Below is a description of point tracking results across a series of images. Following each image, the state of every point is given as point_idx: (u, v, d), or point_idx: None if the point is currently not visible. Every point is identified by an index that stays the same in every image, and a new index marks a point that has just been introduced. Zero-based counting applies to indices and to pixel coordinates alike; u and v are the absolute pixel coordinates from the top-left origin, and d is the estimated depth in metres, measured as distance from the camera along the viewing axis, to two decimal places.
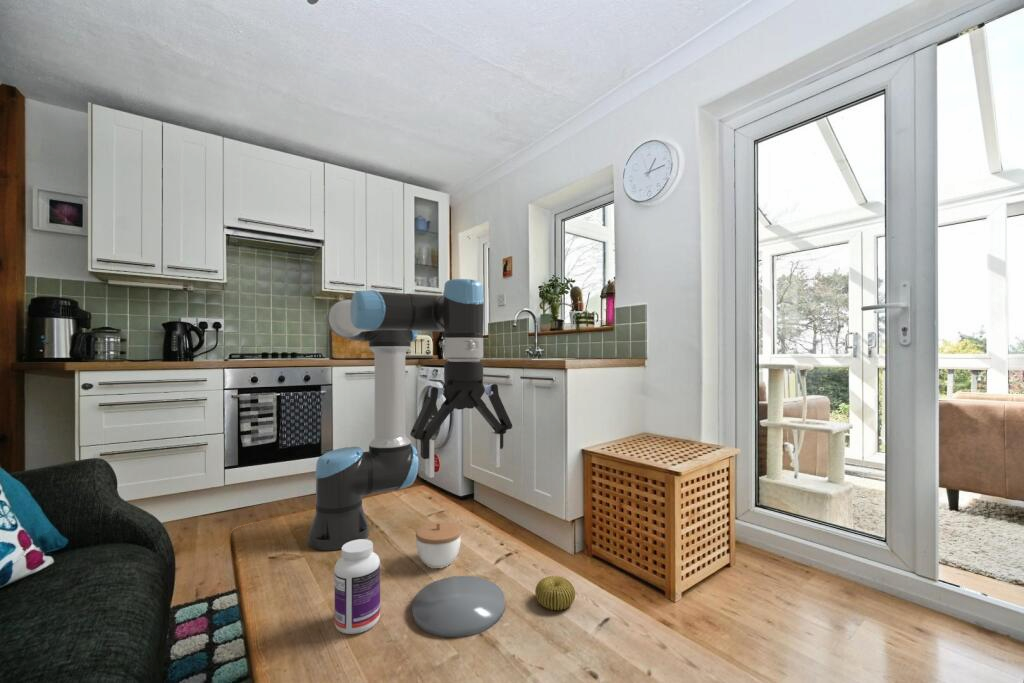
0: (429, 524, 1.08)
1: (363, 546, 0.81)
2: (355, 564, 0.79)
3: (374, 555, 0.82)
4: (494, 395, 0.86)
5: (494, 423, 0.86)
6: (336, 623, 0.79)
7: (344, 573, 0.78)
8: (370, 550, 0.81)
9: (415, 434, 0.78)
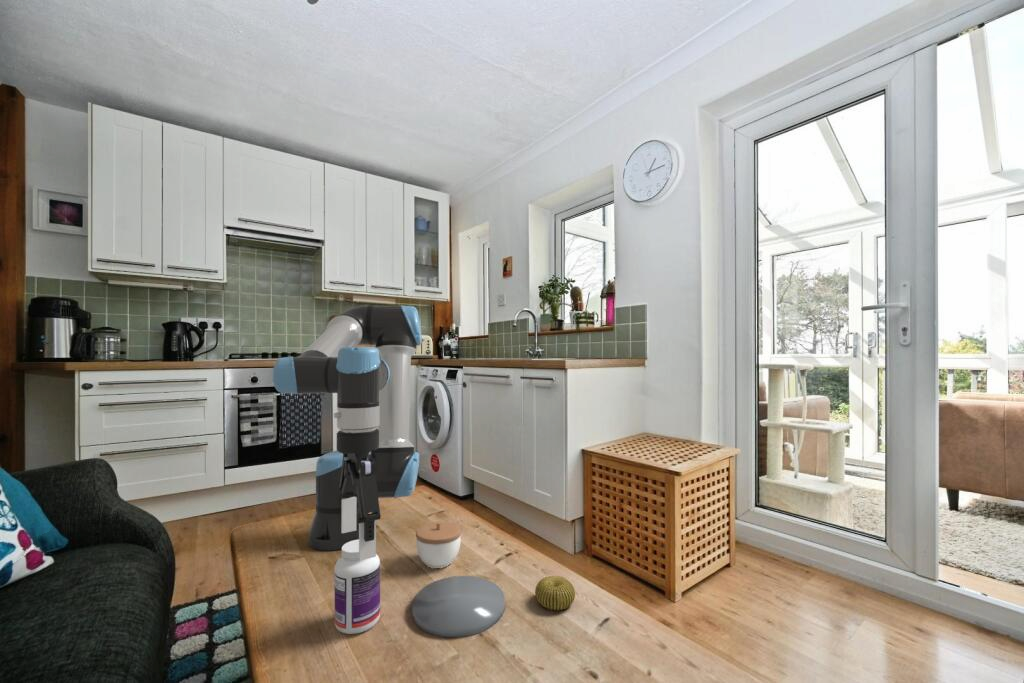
0: (429, 524, 1.08)
1: None
2: (355, 564, 0.79)
3: None
4: (359, 475, 0.76)
5: (359, 507, 0.76)
6: (336, 623, 0.79)
7: (344, 573, 0.78)
8: None
9: (339, 487, 0.89)
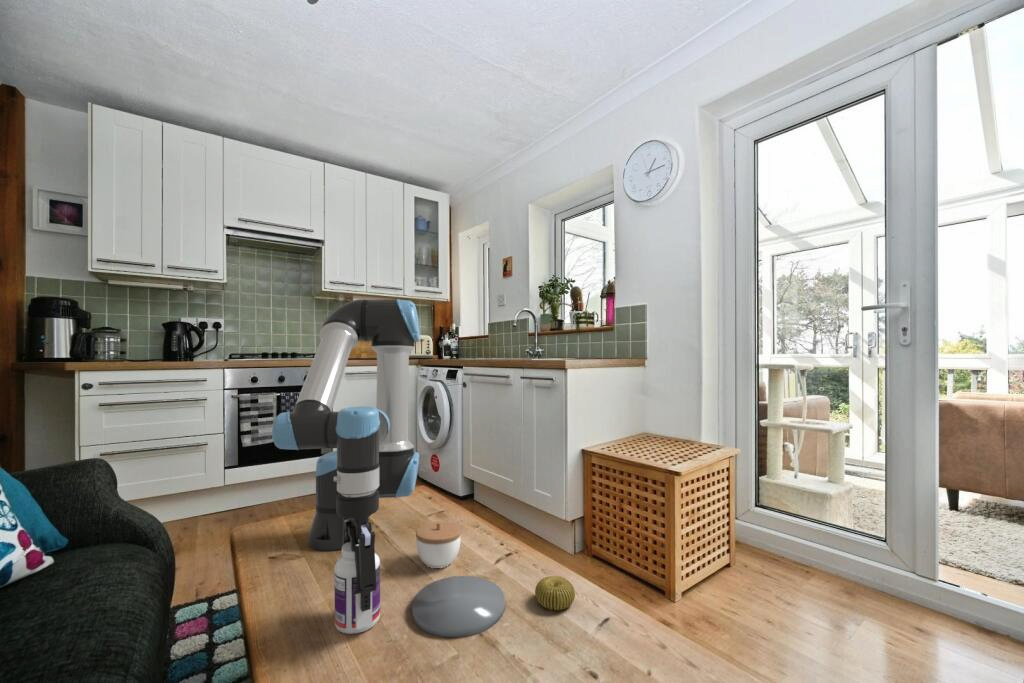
0: (429, 524, 1.08)
1: None
2: None
3: None
4: None
5: (356, 575, 0.77)
6: (336, 623, 0.79)
7: (344, 573, 0.78)
8: None
9: None
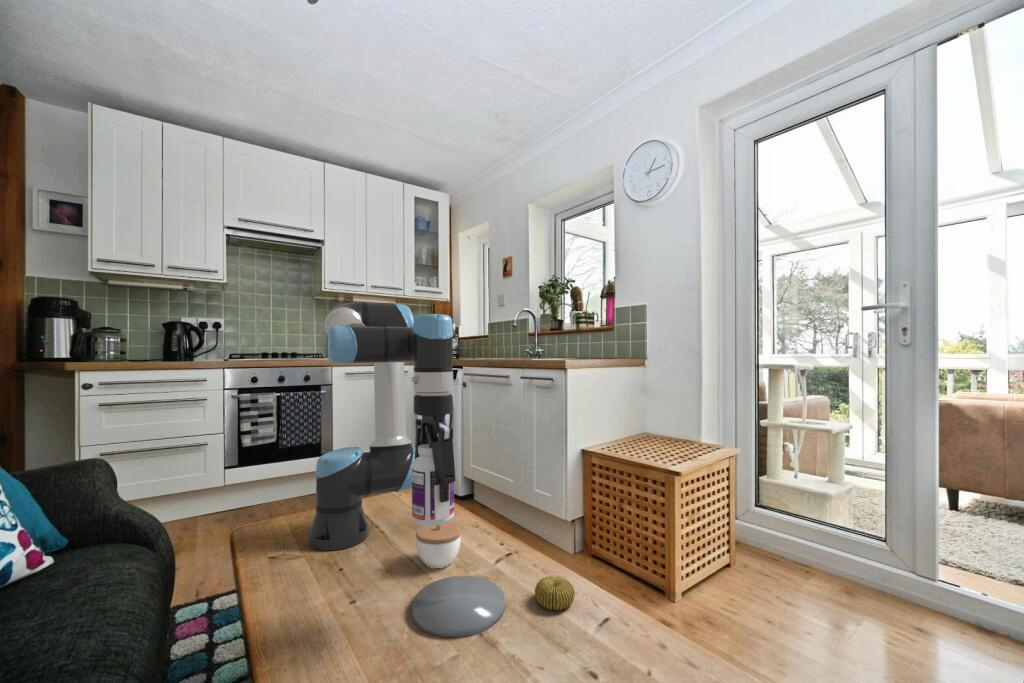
0: None
1: None
2: (433, 460, 0.82)
3: None
4: (438, 439, 0.80)
5: (435, 469, 0.81)
6: (415, 516, 0.82)
7: (422, 467, 0.81)
8: None
9: None
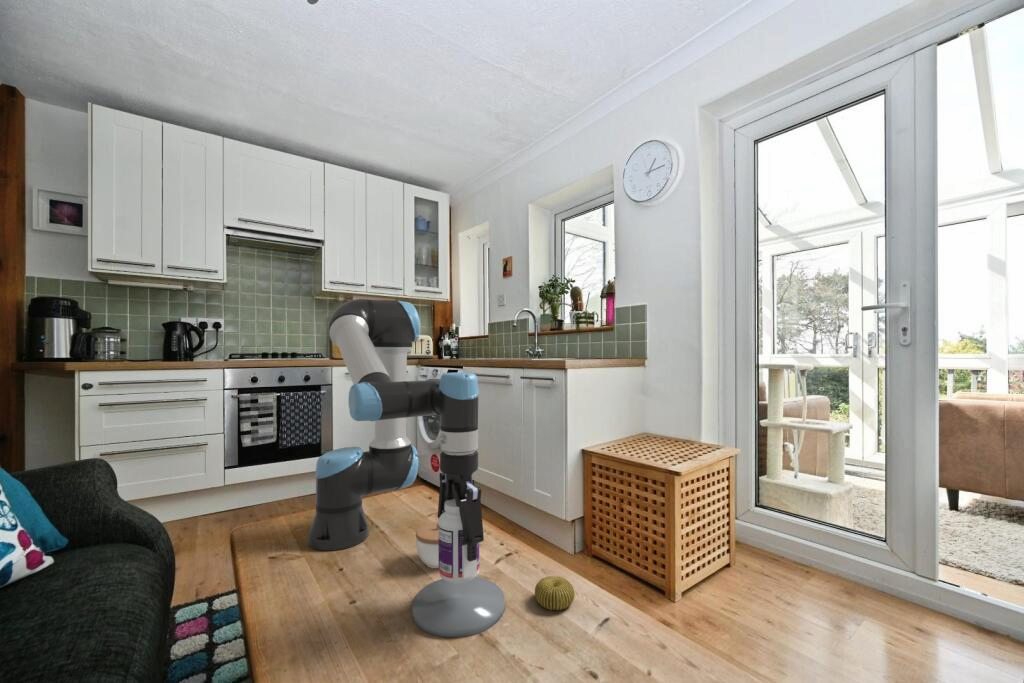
0: (429, 524, 1.08)
1: None
2: (460, 518, 0.84)
3: None
4: (466, 499, 0.81)
5: (463, 528, 0.82)
6: (442, 574, 0.84)
7: (450, 526, 0.83)
8: None
9: (438, 514, 0.92)
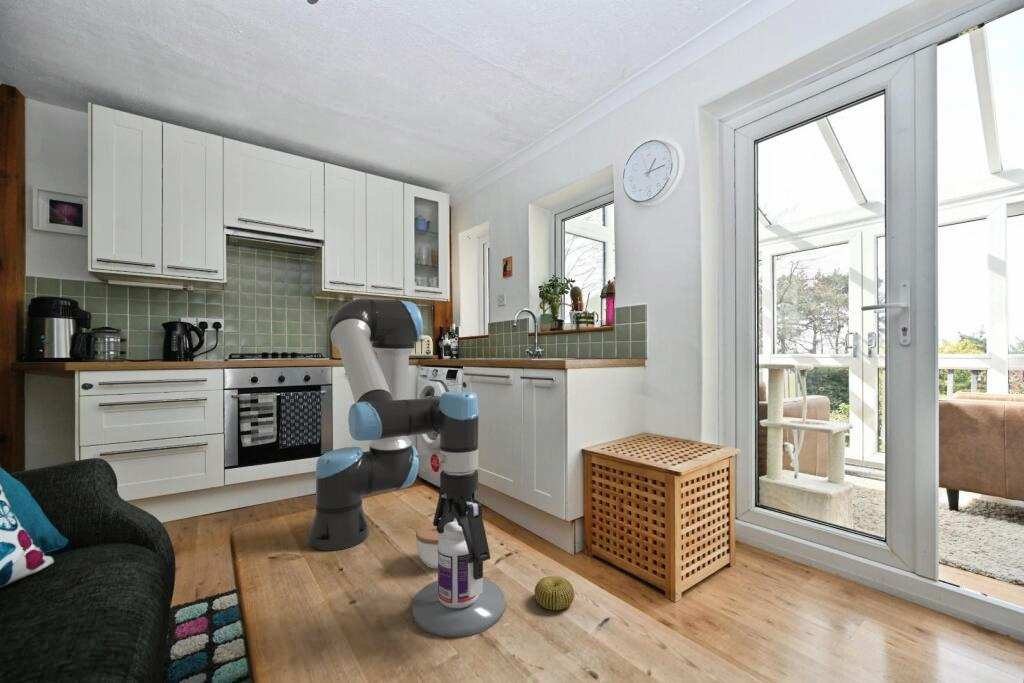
0: (429, 524, 1.08)
1: None
2: (459, 543, 0.84)
3: None
4: (467, 516, 0.81)
5: (467, 546, 0.81)
6: (441, 598, 0.84)
7: (450, 551, 0.83)
8: None
9: (433, 521, 0.94)
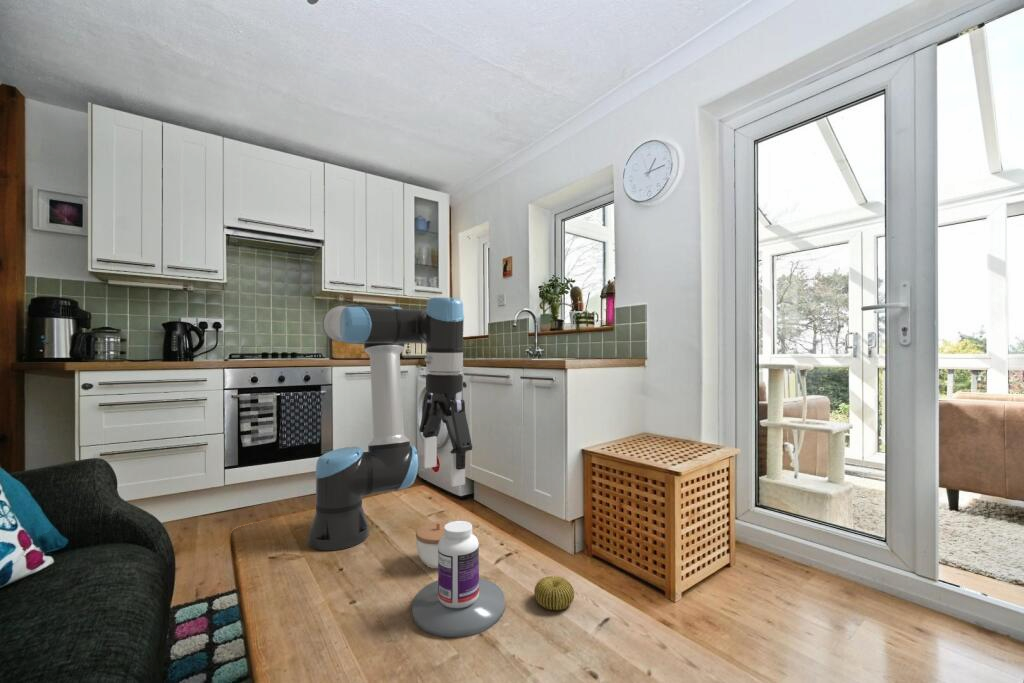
0: (429, 524, 1.07)
1: (464, 527, 0.86)
2: (460, 543, 0.84)
3: (473, 535, 0.87)
4: (451, 411, 0.85)
5: (451, 440, 0.85)
6: (441, 598, 0.84)
7: (450, 551, 0.83)
8: (471, 530, 0.86)
9: None
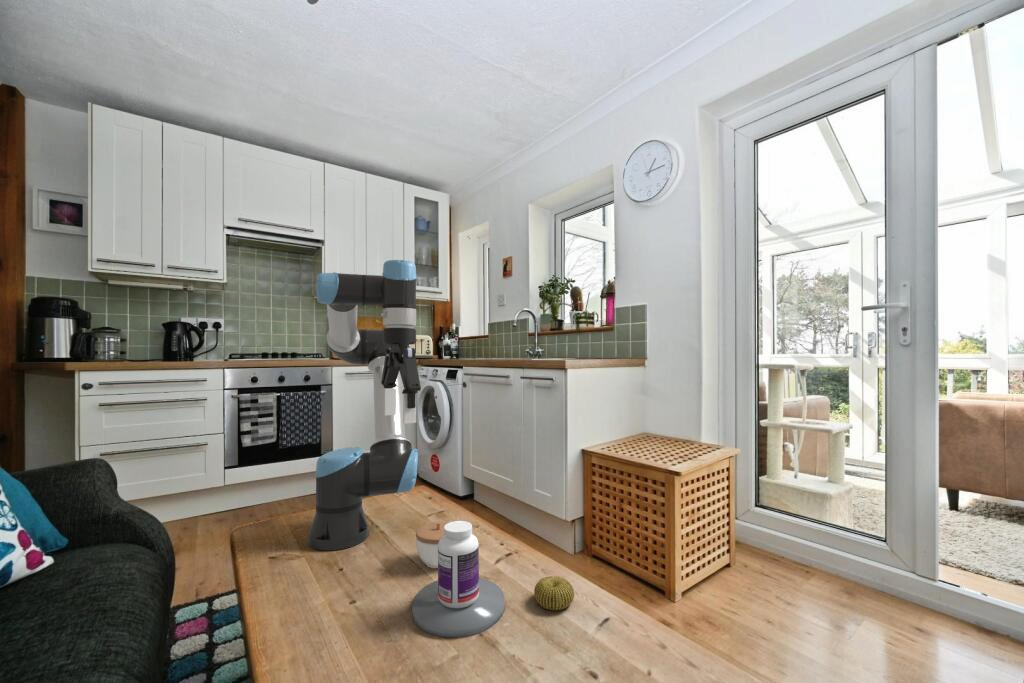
0: (429, 524, 1.08)
1: (464, 527, 0.86)
2: (459, 543, 0.84)
3: (473, 536, 0.87)
4: (403, 358, 0.96)
5: (403, 383, 0.96)
6: (441, 598, 0.84)
7: (450, 551, 0.83)
8: (471, 530, 0.86)
9: (381, 381, 1.09)
